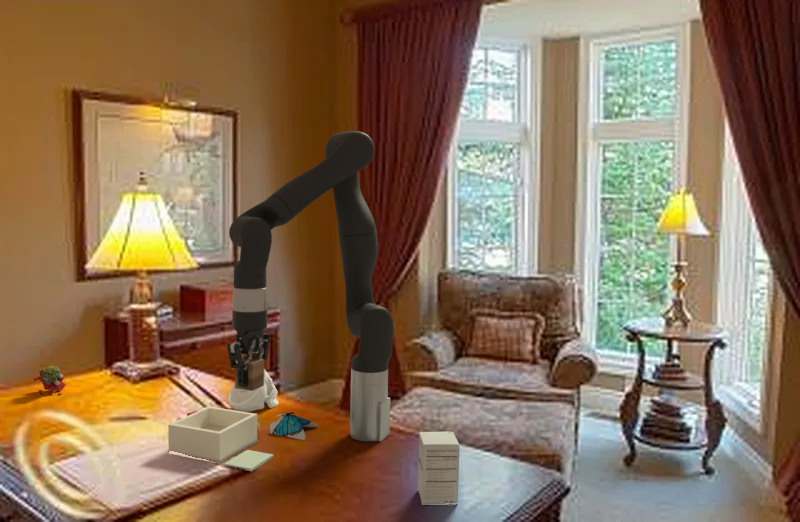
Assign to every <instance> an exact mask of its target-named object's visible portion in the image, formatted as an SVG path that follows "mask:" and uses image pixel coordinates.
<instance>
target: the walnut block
mask: <svg viewBox="0 0 800 522" xmlns="http://www.w3.org/2000/svg"><path fill="white" fill-rule="evenodd" d="M242 360H243V364H244V361H245V360H244V359H242ZM235 362H237V360H235ZM264 370H265V360H264V359H257V358H252V359H251V360H250V361H249V366H248V386H247V387H240V386H238V371H237V369H234V383H235V388H237V389H244V390H251V391H253V390H255V389H258V388H260V387H262V386H264Z"/></svg>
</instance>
